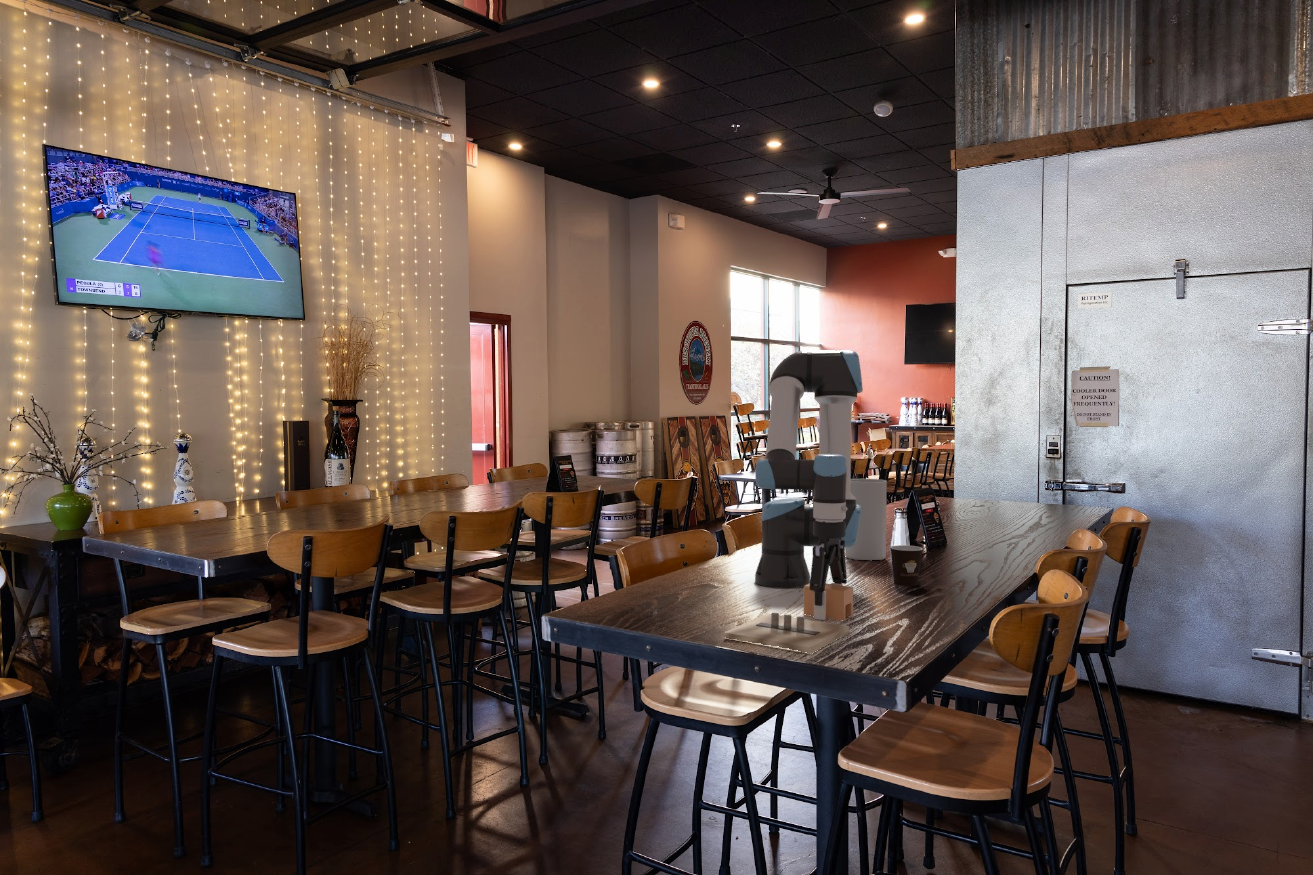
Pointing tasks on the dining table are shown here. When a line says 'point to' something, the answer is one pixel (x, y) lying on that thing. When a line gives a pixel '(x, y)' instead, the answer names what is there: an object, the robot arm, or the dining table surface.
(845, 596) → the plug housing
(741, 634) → the board
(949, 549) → the dining table surface
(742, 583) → the dining table surface
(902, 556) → the coffee mug
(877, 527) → the cylinder vase
